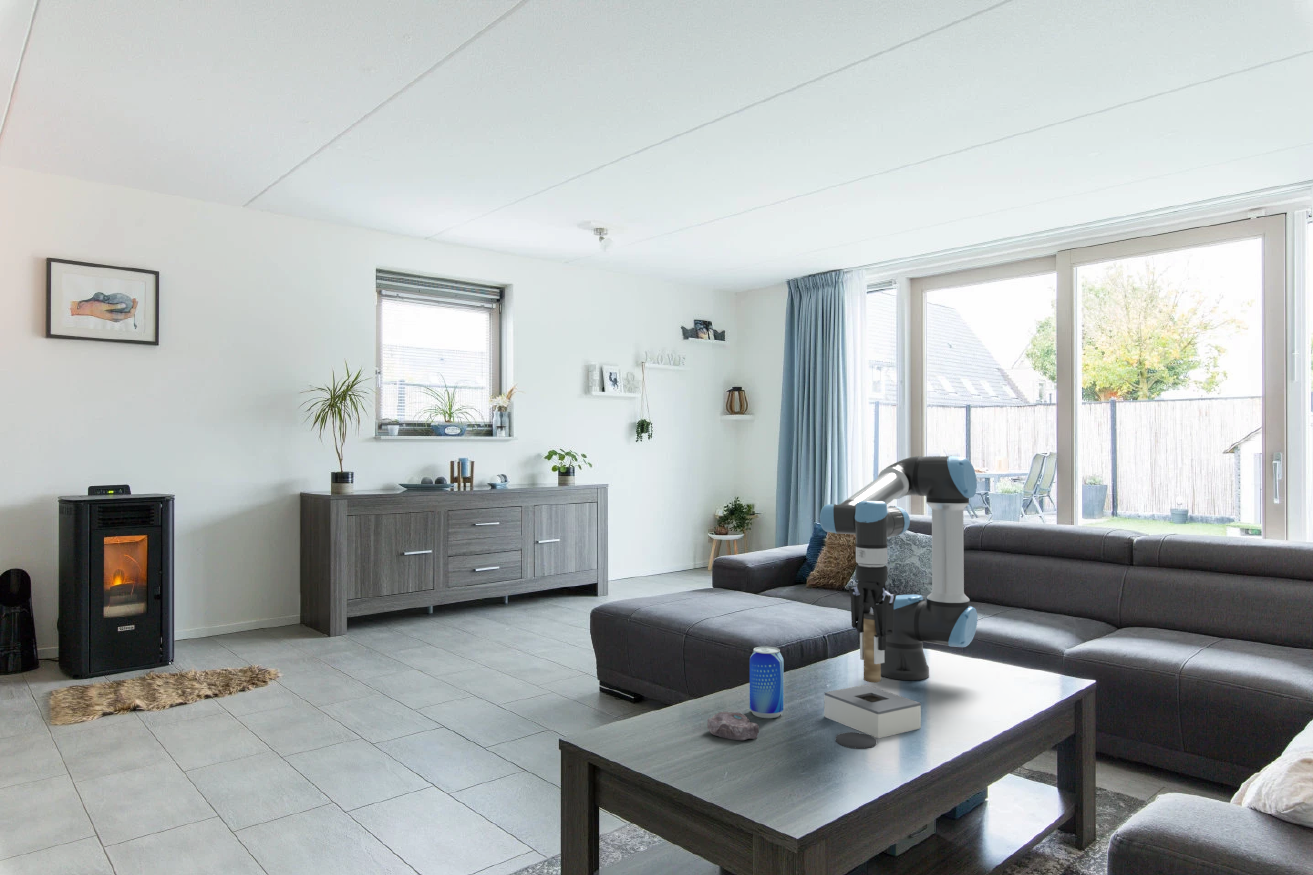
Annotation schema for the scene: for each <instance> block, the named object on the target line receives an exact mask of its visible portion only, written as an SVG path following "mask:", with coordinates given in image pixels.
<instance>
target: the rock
mask: <svg viewBox="0 0 1313 875" xmlns="http://www.w3.org/2000/svg"><path fill="white" fill-rule="evenodd" d="M706 726H707V727H706V728H707V730H708V731H709V733H710V734H711V735H713V736H715V737H719V738H724V739H728V740H734V741H735V740H737V741H741V742H742V741H745V740H749V739H757V738H758V736H759V733H760V729H759V728H760V726H759V725H758V724H757V723H756V722H750V719H749V718H747V716H746V715H745V714H743V713H741V712H733V711H729V712H728V711H722V712H721V711H719V712H718V713H716V714H713V716H712V717H711V718H709V717H708V718H707V724H706Z"/></svg>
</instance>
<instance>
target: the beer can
mask: <svg viewBox="0 0 1313 875" xmlns="http://www.w3.org/2000/svg"><path fill="white" fill-rule="evenodd" d="M780 651H781V650H780V648H777V647H773V646H758V647H754V648H753V652H752V654H751V655H750V657H749V710H750V711H751V712H752V715H753V716H754V717H758V718H763V719H773V718H778V717H780V716H781V714H782V712H783V711H784V695H785V694H784V693H785V692H784V680H785V678H784V677H785V676H784V670H785V669H784V667H785V666H784V662H785V661H784V657H783V655H782V653H781V652H780Z"/></svg>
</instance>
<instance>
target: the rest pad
mask: <svg viewBox="0 0 1313 875" xmlns="http://www.w3.org/2000/svg"><path fill="white" fill-rule="evenodd" d="M835 742H836V743H837V744H838V745H840V746H842V747H846V748H849V749H850V748H851V749H861V750H862V749H864V750H865V749H871V748H874V747H876V745H877V738H876V737H874V736H871V735H869V734H866V733H864V732H856V731H855V732H852V731H851V732H850V731H847V732H841V733H838V734H836V735H835Z"/></svg>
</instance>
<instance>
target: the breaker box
mask: <svg viewBox="0 0 1313 875" xmlns="http://www.w3.org/2000/svg"><path fill="white" fill-rule="evenodd" d="M823 695H824V696H823V697H824V699H823V700H824V701H823V702H824V704H823V705H824V706H823V708H824V711H823V714H824V716H823V717H824V718H827V719H829V720H831V721H834V722H836V723H839V724H842V725H844V726H846V727H849V728H852V729H854V730H857V731H859V732H860V733H863V734H867V735H870V736H872V737H874V738H875V739H882V738H886V737H889V736H890V737H891V736H894V735H897V734H902V733H907V732H911V731H916V730H919V729H921V728H922V703H921V702H919V701H916V700H913V699H910V698H907V697H904V696H902V695H898V694H895V693H892V692H889V691H886V690H883V689H880V688H877V687H874V686H871V685H867V684H862V685H858V686H857V685H856V686H851V687H847V688H840V689H835V690H831V691H826V692H824V693H823Z"/></svg>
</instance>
